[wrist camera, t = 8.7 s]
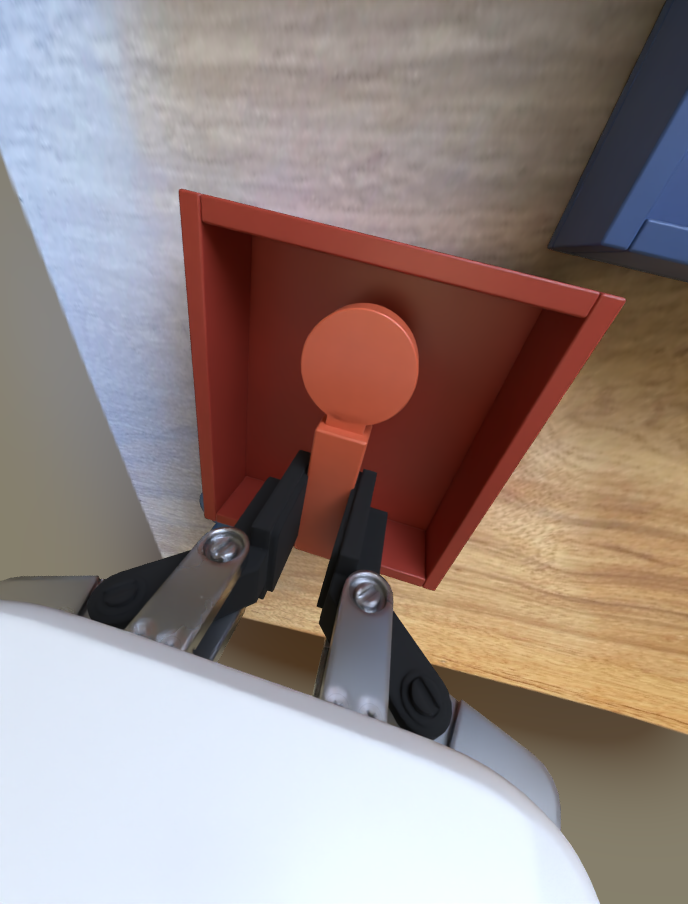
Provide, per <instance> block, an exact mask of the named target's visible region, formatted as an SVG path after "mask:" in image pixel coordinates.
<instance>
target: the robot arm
mask: <svg viewBox="0 0 688 904" xmlns="http://www.w3.org/2000/svg"><path fill="white" fill-rule="evenodd" d="M310 456H311V453H310V452H306V451H303V450H299V451H298V453H297V454H296V456H295V458H294V459H293V461H292V462H291V464H290V465H289V467H288V469H287V470H286V472H285V473H284V475H283V476H282V478H281V480H280V479H277V478H274V477H268V479H267V480H266V481H265V483H264V484H263V485H262V487H261V488H260V490H259V491H258V493H257V494H256V495H255V497H254V498H253V500H252V501H251V503H250V504H249V505H248V507H247V508H246V510H245V511H244V513H243V514H242V516H241V517H240V518H239V520H238V521H237V523H236V524H235V526H234V527H230V526H228V527H219V528H215V529H213V530H211V531H209V532H207V533H206V534H205V535H204V536H203V537H202V538H201V539H200V540H199V541H198V542H197V544H196V545H195V546H194V547H193V548H192V550H189V551H186V552H183V553H180V554H177V555H174V556H170V557H167V558H164V559H161V560H158V561H155V562H151V563H148V564H145V565H142V566H139V567H135V568H132V569H129V570H126V571H122V572H120V573H117V574H115V575H112V576H110V577H109V578H107V579H100V578H99V576H31V577H30V576H24V577H23V576H21V577H14V578H9V579H6V580H3V581H0V904H600V903H599V900H598V898H597V896H596V893H595V890H594V888H593V886H592V883H591V881H590V879H589V876H588V874H587V872H586V871H585V869H584V867H583V865H582V863H581V861H580V859H579V857H578V855H577V854H576V852H575V851H574V849H573V848H572V846H571V845H570V843H569V842H568V840H567V839H566V838H565V837H564V836H563V834H562V833H561V829H560V828H561V808H560V801H559V794H558V791H557V789H556V786H555V784H554V781H553V778H552V777H551V775H550V774H549V772H548V771H547V769H546V767H545V766H544V764H543V763H542V762H541V761H540V760H539V759H538V758H537V757H536V756H535V755H534V754H532V753H531V752H530V751H529V750H527V749H526V748H525V747H523V746H522V745H520V744H519V743H518V742H517V741H515V740H514V739H513V738H512V737H510V736H509V735H508V734H506V733H505V732H504V731H502V730H501V729H500V728H498V727H497V726H496V725H495V724H493V723H492V722H491V721H489V720H488V719H487V718H485V717H484V716H483V715H481V714H480V713H479V712H477V711H476V710H475V709H474V708H472V707H471V706H470V705H468V704H467V703H466V702H464V701H463V700H460V701H457V700H456V699H455V698H454V697H452V696H451V695H450V694H449V692H448V690H447V688H446V686H445V685H444V683H443V681H442V680H441V678H440V677H439V675H438V674H437V672H436V671H435V670H434V668H433V667H432V665H431V664H430V662H429V661H428V660H427V658H426V657H425V655H424V654H423V652H422V651H421V650H420V648H419V647H418V645H417V644H416V643H415V641H414V640H413V638H412V637H411V635H410V634H409V633H408V631H407V630H406V628H405V627H404V625H403V624H402V623H401V621H400V620H399V618H398V617H397V615H396V614H395V613H394V611H393V592H392V590H391V587H390V585H389V584H388V582H387V581H386V580H385V579H384V578H383V577H382V576H380V569H381V561H382V554H383V546H384V539H385V531H386V524H387V516H388V512H385V511H382V510H379V509H375V508H372V507H370V506H371V501H372V496H373V491H374V487H375V482H376V477H377V472H374V471H370V470H367V469H363V472H360V471H359V474H358V478H357V481H356V484H355V488H354V489H351V492H350V495H349V498H348V501H347V505H346V508H345V511H344V515H343V518H342V521H341V524H340V528H339V531H338V534H337V537H336V541H335V544H334V547H333V551H332V554H331V557H330V561H329V564H328V568H327V571H326V575H325V578H324V582H323V585H322V589H321V592H320V596H319V599H318V603H317V606H316V607H319V608H322V612H321V616H320V621H319V625H320V627H321V629H322V630H323V632H324V634H325V636H326V637H325V641H324V646H323V650H322V655H321V659H320V664H319V668H318V673H317V677H316V682H315V686H314V691H313V695H312V696H310V695H307V694H305V693H301V692H299V691H296V690H293V689H291V688H288V687H285V686H282V685H279V684H276V683H273V682H271V681H267V680H265V679H262V678H259V677H256V676H254V675H251V674H248V673H245V672H242V671H239V670H237V669H234V668H231V667H228V666H225V665H222V664H219V663H217V662H218V660H219V658H220V656H221V655H222V653H223V651H224V649H225V647H226V645H227V643H228V642H229V640H230V638H231V636H232V634H233V632H234V630H235V629H236V627H237V625H238V623H239V621H240V619H241V617H242V616H243V614H244V612H245V609H246V607H247V606H249V605H252V604H254V603H256V602H257V600H258V598H260V599H264V597H265V595H266V592H267V590H268V591H271V592H273V590H274V588H275V586H276V584H277V581H278V579H279V577H280V575H281V573H282V570H283V568H284V566H285V564H286V561H287V559H288V557H289V555H290V552H291V550H292V548H293V546H294V543H295V541H296V539H297V537H298V533H299V527H300V521H301V516H302V510H303V504H304V499H305V493H306V488H307V482H308V476H307V473H308V467H309V462H310Z"/></svg>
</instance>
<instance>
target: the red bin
mask: <svg viewBox="0 0 688 904" xmlns="http://www.w3.org/2000/svg"><path fill="white" fill-rule="evenodd" d="M179 202H180V215H181V227H182V240H183V252H184V265H185V277H186V290H187V303H188V315H189V328H190V340H191V353H192V365H193V378H194V390H195V403H196V415H197V428H198V441H199V453H200V466H201V478H202V491H203V503H204V516H205V518H207V519H210V520H213V521H217V522H219V523H222V524H225V525H229V526H232V527H234V526H235V524H236V523H237V521H238V520H239V518H240V517H241V516H242V514H243V513H244V511H245V510H246V508H247V507H248V505H249V504H250V503H251V501H252V500H253V498H254V497H255V495H256V494H257V493H258V491H259V490H260V488H261V487H262V485H263V484H264V483H265V481H266V480H267V479H268V477H274V478H277V479H280V480H281V478H282V476H283V475H284V473H285V472H286V470H287V469H288V467H289V465H290V464H291V462H292V461H293V459H294V458H295V456H296V454H297V453H298V451H299V450H303V451H306V452H310V453H311V450H312V445H313V439H314V433H315V429H316V428H317V426H318V424H319V423H320V421H321V419H322V418H323V416H324V414H325V413H324V412H323V411H322V410H321V409H320V408H319V407H318V406H317V405H316V404H315V403H314V402H313V400H312V399H311V397H310V396H309V394H308V392H307V390H306V388H305V385H304V382H303V379H302V374H301V355H302V350H303V347H304V344H305V341H306V339H307V337H308V335H309V334H310V332H311V331H312V329H313V328H314V327H315V326H316V325H317V324H318V323H319V322H320V321H321V320H322V319H324V318H325V317H326V316H328V315H329V314H331V313H333V312H334V311H336V310H338V309H339V308H342V307H344V306H346V305H350V304H355V303H371V304H376V305H380V306H382V307H385V308H387V309H389V310H391V311H392V312H394V313H395V314H397V315H398V316H399V317H400V318H401V319H402V320H403V321H404V322H405V323H406V324H407V326H408V327H409V328H410V330H411V332H412V334H413V336H414V338H415V341H416V344H417V348H418V355H419V373H418V380H417V384H416V388H415V390H414V392H413V395H412V397H411V398H410V400H409V401H408V403H407V404H406V405H405V406H404V408H403V409H402V410H401V411H399V412H398V413H397V414H396V415H394V416H393V417H391V418H389V419H388V420H386V421H383V422H381V423H377V424H373V425H372V429H371V433H370V437H369V440H368V444H367V447H366V451H365V454H364V457H363V461H362V464H361V467H360V472H363V469H367V470H370V471H374V472H377V477H376V482H375V487H374V491H373V496H372V501H371V506H370V507H372V508H375V509H379V510H382V511H385V512H388V516H387V524H386V531H385V539H384V546H383V554H382V561H381V569H380V574H382V575H385V576H389V577H392V578H395V579H398V580H401V581H404V582H407V583H411V584H414V585H417V586H420V587H421V586H422V587H423V588H426V589H429V590H433V591H435V589H436V588H437V586H438V585H439V583H440V582H441V580H442V579H443V577H444V576H445V574H446V573H447V571H448V570H449V568H450V567H451V565H452V564H453V562H454V561H455V559H456V558H457V556H458V554H459V553H460V551H461V550H462V548H463V547H464V545H465V544H466V542H467V541H468V539H469V538H470V536H471V535H472V533H473V532H474V530H475V529H476V527H477V526H478V524H479V523H480V521H481V520H482V518H483V517H484V515H485V514H486V512H487V511H488V509H489V508H490V506H491V505H492V503H493V502H494V500H495V499H496V497H497V496H498V494H499V493H500V491H501V490H502V488H503V486H504V485H505V483H506V482H507V480H508V479H509V477H510V476H511V474H512V473H513V471H514V470H515V468H516V467H517V465H518V464H519V462H520V461H521V459H522V458H523V456H524V455H525V453H526V452H527V450H528V449H529V447H530V446H531V444H532V443H533V441H534V440H535V438H536V437H537V435H538V434H539V432H540V431H541V429H542V428H543V426H544V425H545V423H546V422H547V420H548V418H549V417H550V415H551V414H552V412H553V411H554V409H555V408H556V406H557V405H558V403H559V402H560V400H561V399H562V397H563V396H564V394H565V393H566V391H567V390H568V388H569V387H570V385H571V384H572V382H573V381H574V379H575V378H576V376H577V375H578V373H579V372H580V370H581V369H582V367H583V366H584V364H585V363H586V361H587V360H588V358H589V357H590V355H591V354H592V352H593V350H594V349H595V347H596V346H597V344H598V343H599V341H600V340H601V338H602V337H603V335H604V334H605V332H606V331H607V329H608V328H609V326H610V325H611V323H612V322H613V320H614V319H615V317H616V316H617V314H618V313H619V311H620V310H621V308H622V307H623V305H624V304H625V302H626V299H625V298H623V297H619V296H615V295H611V294H607V293H603V292H598V291H595V290H591V289H587V288H583V287H579V286H575V285H571V284H567V283H563V282H558V281H554V280H550V279H546V278H542V277H538V276H534V275H530V274H526V273H522V272H518V271H514V270H510V269H506V268H502V267H498V266H494V265H489V264H485V263H481V262H477V261H473V260H469V259H465V258H461V257H457V256H453V255H449V254H445V253H441V252H437V251H433V250H429V249H425V248H420V247H416V246H412V245H408V244H404V243H400V242H396V241H392V240H388V239H384V238H380V237H376V236H372V235H368V234H364V233H360V232H356V231H351V230H347V229H343V228H339V227H335V226H331V225H327V224H323V223H319V222H315V221H311V220H307V219H303V218H299V217H295V216H291V215H287V214H282V213H278V212H274V211H270V210H266V209H262V208H258V207H254V206H250V205H246V204H242V203H238V202H234V201H230V200H226V199H222V198H217V197H213V196H209V195H205V194H201V193H197V192H193V191H189V190H185V189H179ZM294 547H295V543H294Z"/></svg>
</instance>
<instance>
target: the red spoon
mask: <svg viewBox="0 0 688 904" xmlns="http://www.w3.org/2000/svg"><path fill="white" fill-rule="evenodd" d="M418 373H419V355H418V348H417V344H416V341H415V338H414V336H413V334H412V332H411V330H410V328H409V327H408V326H407V324H406V323H405V322H404V321H403V320H402V319H401V318H400V317H399V316H398V315H397V314H395V313H394V312H392V311H391V310H389V309H387V308H385V307H382V306H380V305H376V304H371V303H355V304H350V305H346V306H344V307H342V308H339V309H338V310H336V311H334V312H333V313H331V314H329V315H328V316H326V317H325V318H324V319H322V320H321V321H320V322H319V323H318V324H317V325H316V326H315V327H314V328H313V329H312V331H311V332H310V334H309V335H308V337H307V339H306V341H305V344H304V347H303V350H302V355H301V374H302V379H303V382H304V385H305V388H306V390H307V392H308V394H309V396H310V397H311V399H312V400H313V402H314V403H315V404H316V405H317V406H318V407H319V408H320V409H321V410H322V411H323V412H324V413H325V414H324V416H323V418H322V419H321V421H320V423H319V424H318V426H317V428H316V429H315V433H314V439H313V445H312V450H311V456H310V462H309V467H308V473H307V476H308V482H307V488H306V493H305V499H304V504H303V510H302V516H301V521H300V527H299V533H298V537H297V539H296V541H295V548H296V549H298V550H301V551H304V552H308V553H311V554H314V555H317V556H320V557H324V558H327V559H330V557H331V554H332V551H333V547H334V544H335V541H336V537H337V534H338V531H339V528H340V524H341V521H342V518H343V515H344V511H345V508H346V505H347V501H348V498H349V495H350V492H351V489H354V488H355V484H356V481H357V478H358V474H359V471H360V467H361V464H362V461H363V457H364V454H365V451H366V447H367V444H368V440H369V437H370V433H371V429H372V425H373V424H377V423H381V422H383V421H386V420H388V419H389V418H391V417H393V416H394V415H396V414H397V413H398V412H399V411H401V410H402V409H403V408H404V406H405V405H406V404H407V403H408V401H409V400H410V398H411V397H412V395H413V392H414V390H415V388H416V384H417V380H418Z"/></svg>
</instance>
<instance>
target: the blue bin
mask: <svg viewBox="0 0 688 904" xmlns="http://www.w3.org/2000/svg"><path fill="white" fill-rule="evenodd" d="M547 248H548V249H551V250H555V251H559V252H563V253H567V254H572V255H576V256H580V257H584V258H588V259H592V260H597V261H601V262H605V263H609V264H613V265H617V266H622V267H626V268H630V269H634V270H638V271H642V272H647V273H651V274H655V275H659V276H663V277H667V278H672V279H676V280H680V281H684V282H688V0H667V1H666V3H665V5H664V7H663V9H662V11H661V13H660V15H659V17H658V19H657V21H656V23H655V25H654V28H653V30H652V32H651V34H650V36H649V38H648V40H647V42H646V44H645V46H644V48H643V50H642V52H641V54H640V56H639V58H638V61H637V63H636V65H635V67H634V69H633V71H632V73H631V75H630V77H629V79H628V81H627V83H626V85H625V87H624V89H623V92H622V94H621V96H620V98H619V100H618V102H617V104H616V106H615V108H614V110H613V112H612V114H611V116H610V118H609V120H608V123H607V125H606V127H605V129H604V131H603V133H602V135H601V137H600V139H599V141H598V143H597V145H596V147H595V149H594V151H593V154H592V156H591V158H590V160H589V162H588V164H587V166H586V168H585V170H584V172H583V174H582V176H581V178H580V180H579V182H578V184H577V187H576V189H575V191H574V193H573V195H572V197H571V199H570V201H569V203H568V205H567V207H566V209H565V211H564V213H563V215H562V218H561V220H560V222H559V224H558V226H557V228H556V230H555V232H554V234H553V236H552V238H551V240H550V242H549V244H548V247H547Z"/></svg>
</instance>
